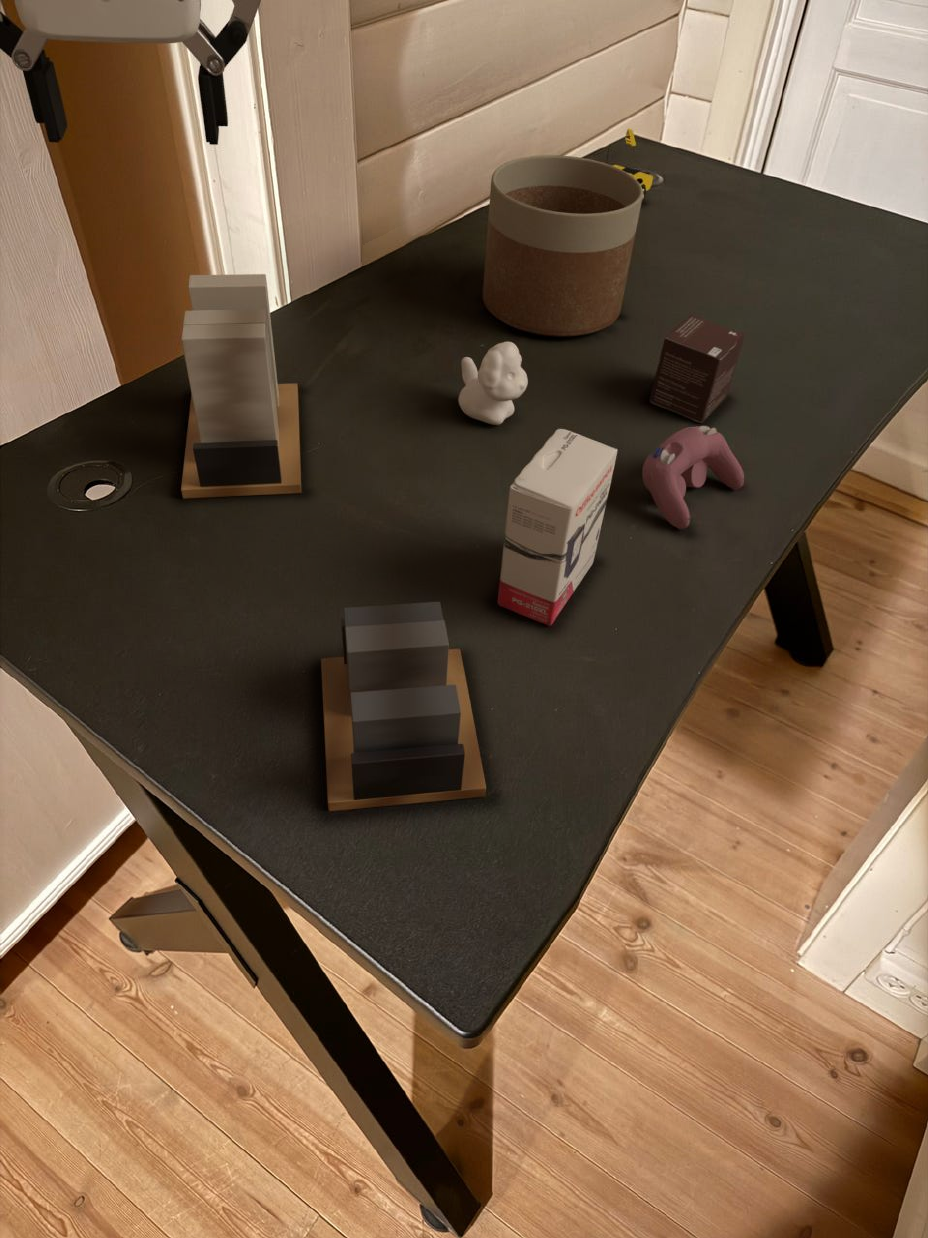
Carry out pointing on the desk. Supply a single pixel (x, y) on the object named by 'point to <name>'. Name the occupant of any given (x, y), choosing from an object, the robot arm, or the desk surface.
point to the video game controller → (688, 469)
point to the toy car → (642, 178)
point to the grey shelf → (398, 712)
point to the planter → (559, 243)
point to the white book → (234, 300)
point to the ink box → (554, 524)
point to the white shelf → (237, 409)
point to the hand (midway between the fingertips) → (137, 136)
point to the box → (696, 368)
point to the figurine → (493, 384)
